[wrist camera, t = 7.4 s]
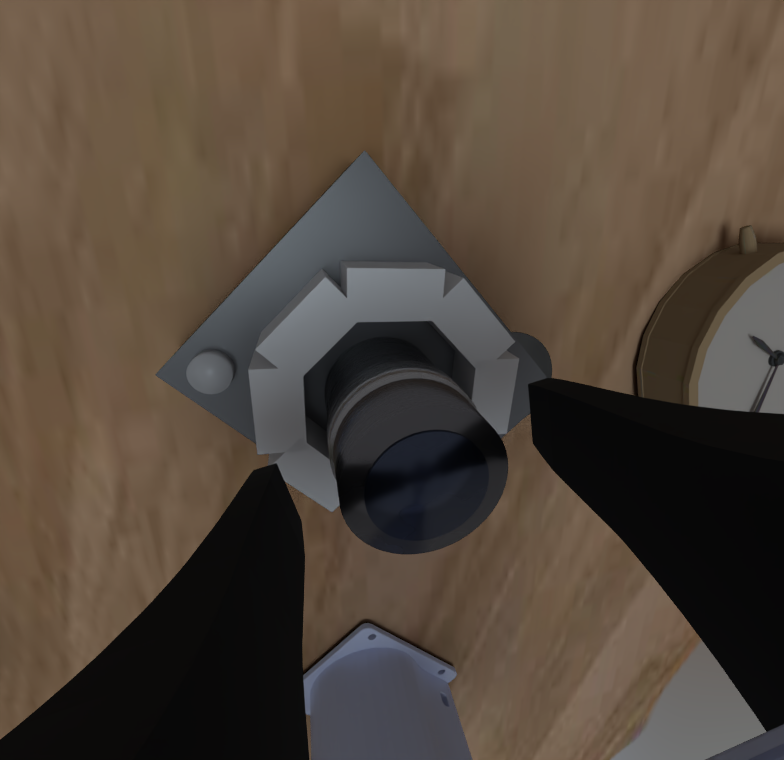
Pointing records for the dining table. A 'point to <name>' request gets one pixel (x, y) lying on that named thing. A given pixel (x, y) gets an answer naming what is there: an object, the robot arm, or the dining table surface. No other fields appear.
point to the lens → (408, 449)
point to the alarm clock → (720, 333)
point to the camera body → (344, 327)
